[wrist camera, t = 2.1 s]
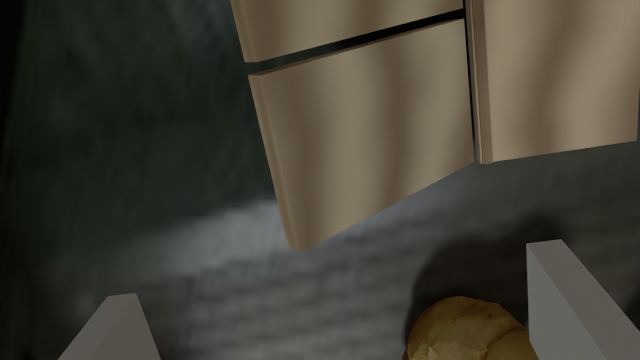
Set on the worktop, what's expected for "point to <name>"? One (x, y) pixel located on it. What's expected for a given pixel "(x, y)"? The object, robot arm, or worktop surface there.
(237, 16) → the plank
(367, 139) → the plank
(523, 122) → the laid board
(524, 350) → the bread roll
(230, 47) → the worktop surface
